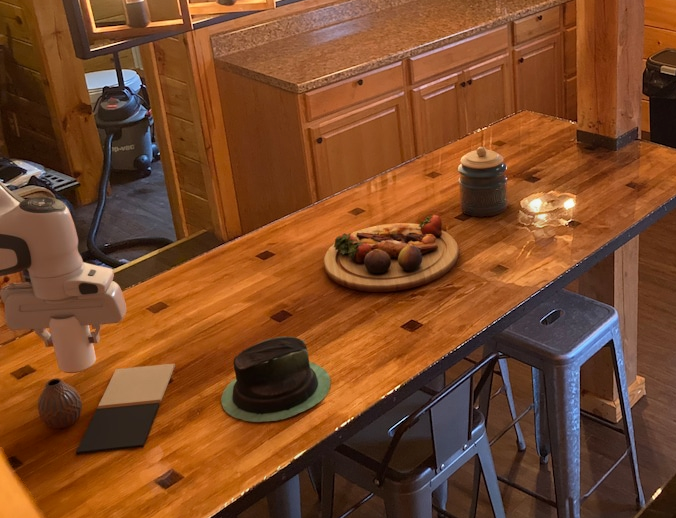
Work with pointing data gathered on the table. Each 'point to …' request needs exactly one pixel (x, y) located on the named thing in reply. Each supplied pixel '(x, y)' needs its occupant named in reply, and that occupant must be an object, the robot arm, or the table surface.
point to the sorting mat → (127, 409)
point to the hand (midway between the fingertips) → (73, 343)
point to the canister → (483, 183)
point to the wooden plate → (391, 256)
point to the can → (71, 344)
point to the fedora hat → (274, 381)
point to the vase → (59, 404)
